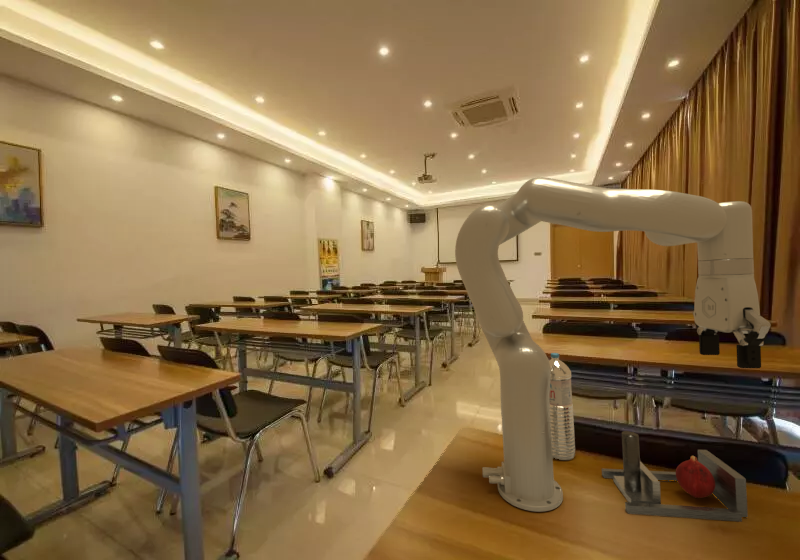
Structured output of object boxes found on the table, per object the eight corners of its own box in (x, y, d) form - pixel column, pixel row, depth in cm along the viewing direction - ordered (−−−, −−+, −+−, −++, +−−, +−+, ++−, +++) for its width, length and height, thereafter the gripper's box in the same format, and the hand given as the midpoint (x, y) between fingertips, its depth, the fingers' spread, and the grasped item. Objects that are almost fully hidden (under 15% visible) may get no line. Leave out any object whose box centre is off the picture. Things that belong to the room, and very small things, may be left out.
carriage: (631, 506, 65) (628, 443, 65) (613, 481, 73) (610, 425, 72) (661, 508, 64) (658, 444, 64) (639, 482, 72) (636, 426, 71)
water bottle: (579, 462, 80) (574, 356, 80) (549, 461, 82) (543, 357, 81) (570, 447, 87) (565, 350, 87) (541, 446, 88) (537, 350, 88)
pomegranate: (724, 509, 63) (722, 466, 63) (688, 506, 64) (686, 464, 64) (703, 489, 68) (701, 449, 68) (670, 487, 70) (668, 448, 69)
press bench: (627, 513, 63) (626, 475, 63) (602, 475, 75) (600, 443, 75) (752, 522, 59) (750, 482, 59) (704, 480, 71) (702, 447, 71)
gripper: (674, 270, 73) (677, 350, 73) (737, 270, 56) (740, 373, 56) (715, 269, 71) (717, 350, 72) (792, 267, 54) (795, 374, 55)
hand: (727, 360), depth 64 cm, fingers open, 9 cm apart
